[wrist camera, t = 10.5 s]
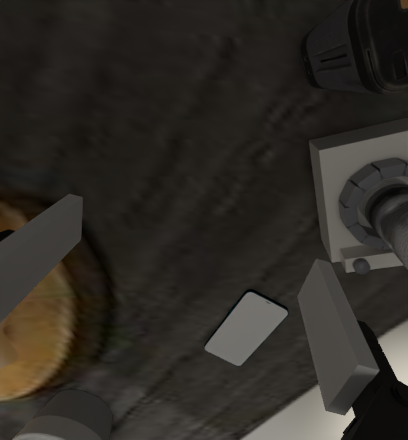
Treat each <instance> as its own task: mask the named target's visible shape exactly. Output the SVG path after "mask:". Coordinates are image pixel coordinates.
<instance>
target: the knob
mask: <svg viewBox="0 0 408 440" xmlns="http://www.w3.org/2000/svg"><path fill="white" fill-rule="evenodd" d="M358 207H359V210H360V212H361V214H362V215H363V216H364V217H365V219H366V220H367V222H368V223H369V224H370V226H371V227H372V228H373V229H374V230H375V232H376V233H377V234H378V235H379V236H380V237H381V238H382V239H383V240H384V242H385V243H386V244H387V245H388V247H389V248H390V249H391V250H392V251H393V253H394V254H395V255H396V256H397V257H398V259H399V260H400V261H401V262H402V264H403V265H404V266H405V267H406V268H407V270H408V184H406V183H405V182H403V181H402V180H400V179H397V178H389V179H384V180H382V181H380V182H379V183H377V184H376V185H375V186H373V187H372V188H370V189H369V190H368V191H366V192H365V194H364V196H363V198H362V200H361V202H360V203H359V205H358Z"/></svg>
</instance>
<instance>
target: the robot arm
mask: <svg viewBox="0 0 408 440" xmlns="http://www.w3.org/2000/svg"><path fill="white" fill-rule="evenodd" d="M82 207H83V197H80V196H76V195H72V194H68V195H67V196H65V197H64V198H63V199H61V200H60V201H58V202H57V203H55V204H54V205H53V206H51V207H50V208H48V209H47V210H45V211H44V212H43V213H41V214H40V215H38V216H37V217H35V218H34V219H32V220H31V221H30V222H28V223H27V224H25V225H24V226H22V227H21V228H20V229H18V230H17V231H13V230H9V229H8V230H5V231H2V232H0V322H1V321H2V320H3V319H4V318H5V317H6V316H7V315H8V314H9V313H10V312H11V311H12V310H13V309H14V308H15V307H16V306H17V305H18V304H19V303H20V302H21V301H22V300H23V299H24V298H25V297H26V296H27V295H28V293H29V292H30V291H31V290H32V289H33V288H34V287H35V286H36V285H37V284H38V283H39V282H40V281H41V280H42V279H43V278H44V277H45V276H46V275H47V274H48V273H49V272H50V271H51V270H52V269H53V268H54V267H55V266H56V265H57V264H58V263H59V262H60V261H61V260H62V259H63V257H64V256H65V255H66V254H67V253H68V252H69V251H70V250H71V249H72V248H73V247H74V246H75V245H76V244H77V243H78V242H79V241H80V240H81V228H82ZM297 297H298V301H299V305H300V309H301V313H302V317H303V321H304V325H305V329H306V333H307V337H308V341H309V345H310V349H311V353H312V357H313V362H314V366H315V370H316V374H317V378H318V382H319V386H320V390H321V394H322V398H323V402H324V406H325V410H326V411H329V412H333V413H337V414H341V415H345V414H346V413H347V412H348V410H349V409H350V408H351V407H352V408H353V411H354V414H355V418H354V419H353V421H352V422H351V423H350V424H349V426H348V427H347V428H346V429H345V431H344V432H343V434H344V435H343V437H342V438H341V440H408V386H407V385H405V384H403V383H402V382H400V381H398V380H397V378H396V376H395V374H394V372H393V370H392V368H391V366H390V364H389V362H388V360H387V358H386V356H385V354H384V352H382V348H381V346H380V344H378V340H377V338H376V336H375V334H374V332H373V331H372V330H371V329H370V328H369V327H368V326H367V324H366V323H365V322H362V321H358V320H356V318H355V316H354V314H353V312H352V309H351V307H350V305H349V303H348V301H347V299H346V296H345V294H344V292H343V290H342V288H341V286H340V283H339V281H338V279H337V277H336V275H335V273H334V270H333V268H332V266H331V264H330V262H327V261H323V260H319V259H316V260H315V262H314V264H313V266H312V268H311V270H310V272H309V274H308V276H307V278H306V280H305V282H304V284H303V286H302V288H301V290H300V292H299V294H298V296H297Z"/></svg>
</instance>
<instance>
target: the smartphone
mask: <svg viewBox="0 0 408 440" xmlns="http://www.w3.org/2000/svg"><path fill="white" fill-rule="evenodd" d="M287 316H288V308H287V307H286V306H284V305H282V304H280V303H278V302H276V301H274V300H272V299H270V298H268V297H266V296H265V295H263V294H261V293H259V292H257V291H255V290H253V289H249V290H246V291H245V292H244V294H243V295H242V296H241V298H240V299H239V300H238V301H237V303H236V304H235V305H234V306H233V307H232V309H231V310H230V311H229V312H228V314H227V316H226V317H225V318H224V320H223V321H222V322H221V324H220V325H219V326H218V328H217V329H216V330H215V331H214V333H213V334H212V335H211V337H210V338H209V339H208V341H207V342H206V343H205V345H204V349H205V350H206V351H207V352H209V353H211V354H213V355H215V356H217V357H219V358H221V359H223V360H225V361H227V362H229V363H231V364H233V365H235V366H241V365H243V364H244V363H245V361H246V360H247V359H248V358H249V357H250V356H251V355H252V354H253V353H254V352H255V351H256V350H257V348H258V347H259V346H260V345H261V344H262V343H263V342H264V341H265V340H266V339H267V338H268V337H269V335H270V334H271V333H272V332H273V331H274V330H275V329H276V328H277V327H278V326H279V325H280V324H281V322H282V321H283V320H284V319H285V318H286V317H287Z"/></svg>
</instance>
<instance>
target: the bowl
mask: <svg viewBox="0 0 408 440" xmlns="http://www.w3.org/2000/svg"><path fill="white" fill-rule="evenodd" d="M112 420H113V415H112V412H111V410H110V408H109V407H108V406H107V405H106V403H104V402H103V401H102V400H101V399H99V398H98V397H96V396H94V395H92V394H90V393H87V392H85V391H80V390H64V391H61V392H59V393H57V394H56V395H55V396H54V397H53V398H52V399H51V400H50V401H49V402H48V404H47V405H46V406H45V407H44V408H43V409H42V410H41V411H40V412H39V413H38V414H37V415H36V416H35V417H34V418H33V419H32V420H31V421H30V422H29V423H28V424H27V425H26V426H25V427H24V428H23V429H22V430H21V431H20V432H19V433H18V434H17V435H16V436H15V437H14V438H13V439H12V440H109V438H110V432H111V426H112Z"/></svg>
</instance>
